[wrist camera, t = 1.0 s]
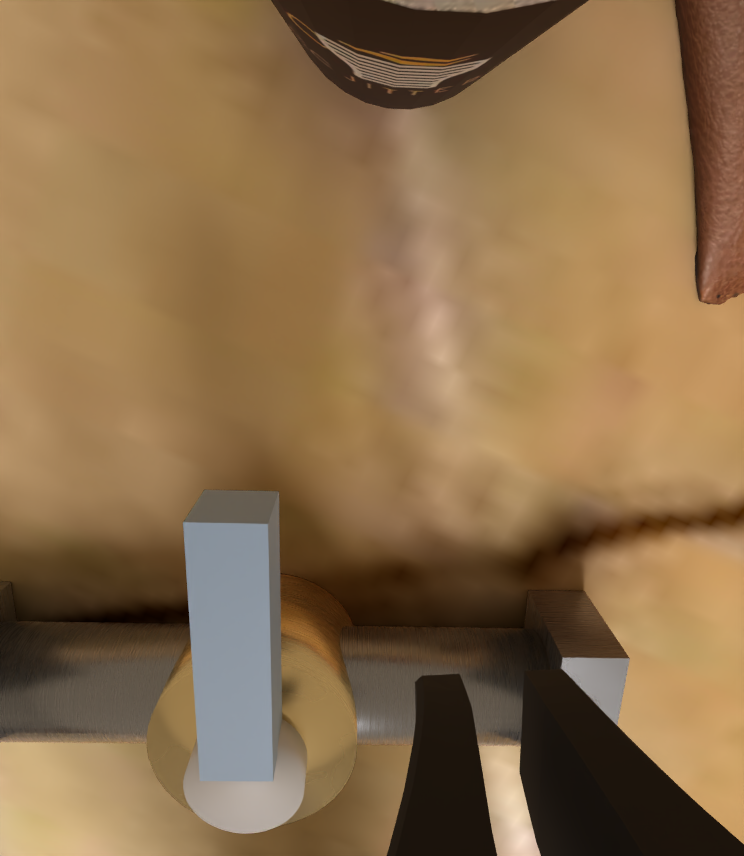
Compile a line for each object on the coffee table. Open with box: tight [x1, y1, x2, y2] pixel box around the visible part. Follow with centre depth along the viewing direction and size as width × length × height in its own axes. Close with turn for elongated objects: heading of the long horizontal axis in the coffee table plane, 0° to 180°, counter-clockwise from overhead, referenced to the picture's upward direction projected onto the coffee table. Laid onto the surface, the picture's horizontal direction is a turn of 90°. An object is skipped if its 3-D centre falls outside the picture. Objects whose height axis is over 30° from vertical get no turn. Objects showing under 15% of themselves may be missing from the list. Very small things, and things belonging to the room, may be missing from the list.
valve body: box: [0, 574, 630, 826], centre depth 19 cm, size 22×6×4 cm, turn 88°
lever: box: [183, 490, 307, 834], centre depth 15 cm, size 10×3×2 cm, turn 178°
